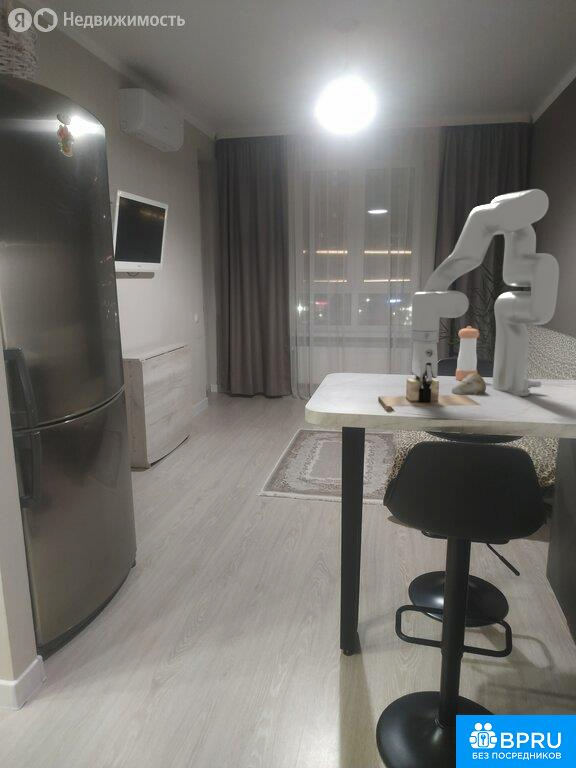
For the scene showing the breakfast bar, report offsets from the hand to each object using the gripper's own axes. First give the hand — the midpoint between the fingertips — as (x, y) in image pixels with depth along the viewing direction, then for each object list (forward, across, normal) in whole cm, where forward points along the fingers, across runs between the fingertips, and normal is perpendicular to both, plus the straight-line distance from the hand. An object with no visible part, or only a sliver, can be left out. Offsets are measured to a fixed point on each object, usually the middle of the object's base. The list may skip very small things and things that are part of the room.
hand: (422, 399), depth 147 cm
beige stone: (+2, +10, -17) cm, 20 cm away
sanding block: (0, 0, 0) cm, 0 cm away
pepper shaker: (+2, +38, -26) cm, 46 cm away
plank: (+2, 0, -2) cm, 2 cm away
